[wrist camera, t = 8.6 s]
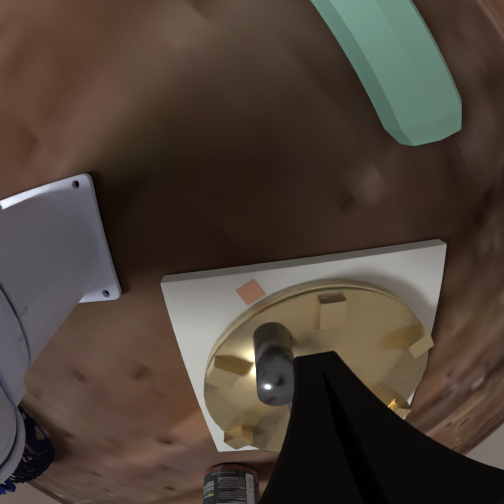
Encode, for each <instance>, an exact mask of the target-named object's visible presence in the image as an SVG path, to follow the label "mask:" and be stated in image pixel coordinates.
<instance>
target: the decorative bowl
mask: <svg viewBox="0 0 504 504" xmlns="http://www.w3.org/2000/svg"><path fill="white" fill-rule="evenodd" d="M17 407H19V412H20V414H21V415H22V413H24V414H25V416H26V418H25V420H24V427H25V442H26V443H27V444H28V446H29V447H30V448H31V449H32V450H33V451H34V452H35V453H38V454H41V453H42V454H44V453H45V452H47V450H48V452H47V453H45V455H42V456H41V455H40V456H39V455H38V456H37V455H34V454H31V453H30V452H29V450H28V449H27V448H26V447H25V446H24V452H25V453H26V454H27V455H25V454H24V453H23V454H22V456H23V457H24V458H25V460H26V461H27V463H26V462H24V460H23V457H21V460H20V462H19V464H18V467H17V468H16V469H15V470H14V472H15V473H12V474H11V475H13V476H16V477H15V478H14V477H12V476H9V477H10V478H12V479H14V480H11V479H10V478H9V477H8V478H7V479H6V480H5V481H4V482H5V484H6V485H4V484H2V483H1V484H0V495H1V494H6V492H5V490H6V491H9V492H14V491H15V489H16V486H15V484H13V483H19V482H21V483H24V482H27V481H28V482H30V481H31V480H33V479H36V477H38V476H40V475H41V474H42V473H43V471H45V470H46V469H48V467H49V466H50V464H51V463H52V461H53V459H54V455H55V453H54V450H55V449H54V448H53V447H52V444H51V442H50V441H49V439H48V437H47V435H46V434H45V433H44V432H43V430H42V429H41V428H40V427H39V425H37V424H36V423H35V422H34V420H33V419H32V418H30V416H29V415H28V414H26V413H25V411H24V410H23V408H22V407H20V406H19V405H18V406H17ZM35 426H36V427H37V428H38V429H39V431H40V432H41V433H42V434H43V436H44V438H45V439H44V440H38V439H37V438H36V434H35V433H36V431H35V430H36V429H35ZM26 456H27V457H30V458H33V459H32V460H30V461H29V459H28V458H27V457H26ZM32 470H34V471H32ZM28 471H29V472H28ZM30 471H31V472H30ZM20 477H21V478H20ZM22 477H24V478H22Z"/></svg>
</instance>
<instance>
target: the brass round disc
mask: <svg viewBox="0 0 504 504" xmlns="http://www.w3.org/2000/svg"><path fill="white" fill-rule="evenodd" d="M432 346H434V343H433V340H432V338H431V335H430V332H429V331H428V330H427V329H426V327H425V326H424V325H423V324H422V323H421V321H420V320H419V319H418V318H417V316H416V315H415V314H414V313H413V311H412V310H411V309H410V308H409V307H408V306H407V304H406V303H405V302H404V301H403V300H402V299H401V298H399V297H398V296H397V295H396V294H394V293H393V292H391V291H389V290H387V289H385V288H384V287H381V286H378V285H375V284H372V283H368V282H363V281H358V280H345V279H335V280H322V281H316V282H311V283H305V284H302V285H298V286H295V287H291V288H288V289H285V290H283V291H281V292H278V293H276V294H273V295H271V296H269V297H267V298H265V299H263V300H262V301H260V302H258V303H256V304H254V305H253V306H251V307H250V308H249V309H247V310H246V311H244V312H243V313H242V314H240V315H239V316H238V317H237V318H236V319H235V320H234V321H233V322H231V323H230V324H229V325H228V326H227V328H226V329H225V330H224V331H223V332H222V334H221V335H220V336H219V337H218V339H217V341H216V342H215V344H214V346H213V347H212V350H211V352H210V355H209V357H208V360H207V365H206V370H205V378H204V400H205V405H206V408H207V410H208V412H209V414H210V416H211V418H212V419H213V420H214V422H215V423H216V424H217V425H218V426H219V427H220V428H221V429H222V430H223V431H224V443H225V444H227V445H229V446H230V447H232V448H233V449H235V450H237V449H240V448H242V447H245V446H248V445H249V446H252V447H255V448H258V449H263V450H268V451H274V452H280V451H281V448H282V445H283V442H284V438H285V435H286V431H287V427H288V422H289V418H290V414H291V408H292V401H293V394H294V377H293V359H294V358H295V357H297V356H304V355H310V354H316V353H322V352H327V351H333V350H334V351H335V352H337V354H338V355H339V356H340V357H341V359H342V360H343V361H344V362H345V363H346V365H347V366H348V367H349V368H350V369H351V370H352V371H353V372H354V374H355V375H356V376H357V377H358V378H359V379H360V380H361V381H362V382H363V383H364V384H365V385H366V386H367V387H368V388H369V389H370V390H371V391H372V392H373V393H374V394H375V395H376V396H377V397H378V398H379V399H380V400H381V401H382V402H383V403H384V404H386V405H387V406H388V407H389V408H390V409H391V410H393V411H394V412H395V413H396V414H397V415H399V416H400V417H401V418H402V419H403V418H404V417H405V416H406V415H407V414H408V413H409V412H410V411H411V410H412V409H411V407H410V406H409V404H408V402H407V400H408V399H409V398H410V397H411V395H412V394H413V392H414V391H415V390H416V388H417V386H418V384H419V383H420V381H421V379H422V376H423V374H424V371H425V368H426V364H427V360H428V350H429V349H430V348H431V347H432Z"/></svg>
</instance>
